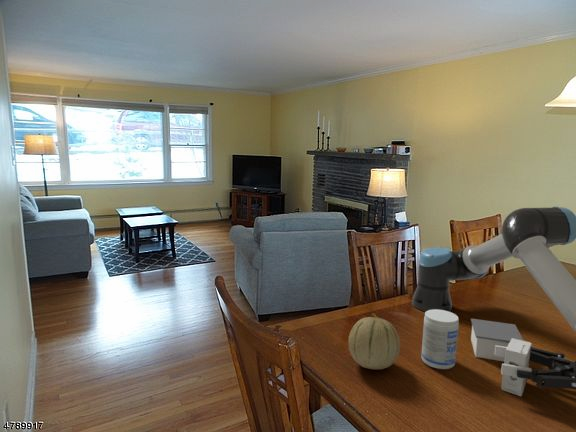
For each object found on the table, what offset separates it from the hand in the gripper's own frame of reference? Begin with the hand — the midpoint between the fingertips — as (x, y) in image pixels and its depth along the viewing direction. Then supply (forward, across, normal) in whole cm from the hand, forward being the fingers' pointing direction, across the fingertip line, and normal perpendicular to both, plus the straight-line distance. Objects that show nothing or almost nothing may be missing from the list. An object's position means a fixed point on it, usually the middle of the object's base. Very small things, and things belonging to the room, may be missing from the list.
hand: (498, 359), depth 105 cm
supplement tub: (+15, +6, -7) cm, 17 cm away
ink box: (-4, 0, -7) cm, 8 cm away
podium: (-2, +19, -7) cm, 20 cm away
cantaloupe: (+33, -3, -7) cm, 33 cm away
